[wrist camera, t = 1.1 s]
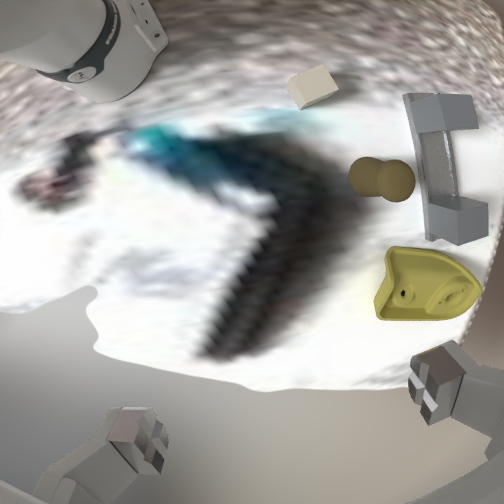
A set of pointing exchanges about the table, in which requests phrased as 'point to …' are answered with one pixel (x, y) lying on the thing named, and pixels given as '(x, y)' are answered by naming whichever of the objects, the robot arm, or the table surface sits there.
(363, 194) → the cork
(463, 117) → the block
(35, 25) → the robot arm
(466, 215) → the block
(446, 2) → the table surface
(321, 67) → the beige block
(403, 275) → the plastic component
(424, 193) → the rail
